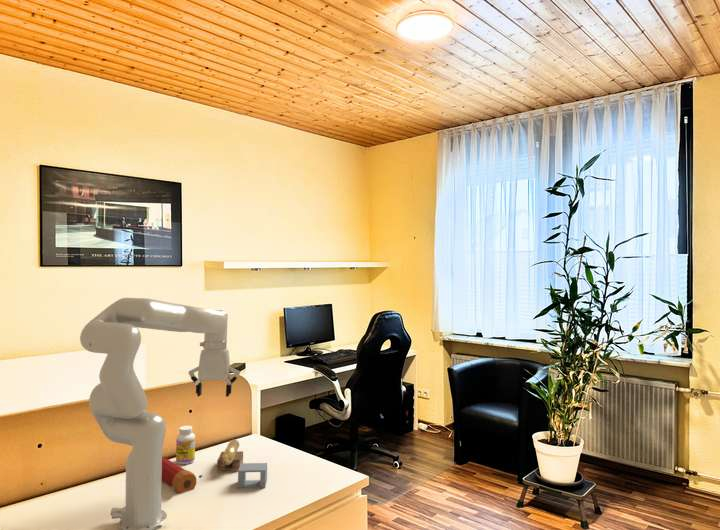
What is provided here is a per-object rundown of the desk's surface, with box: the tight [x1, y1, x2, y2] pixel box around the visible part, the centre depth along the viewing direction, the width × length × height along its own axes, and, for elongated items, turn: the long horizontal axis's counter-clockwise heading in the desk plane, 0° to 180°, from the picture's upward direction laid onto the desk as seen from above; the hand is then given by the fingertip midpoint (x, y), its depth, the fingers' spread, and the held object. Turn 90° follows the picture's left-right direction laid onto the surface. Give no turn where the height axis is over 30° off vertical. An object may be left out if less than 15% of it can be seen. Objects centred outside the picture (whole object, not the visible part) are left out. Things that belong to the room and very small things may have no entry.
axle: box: [221, 439, 240, 465], centre depth 184 cm, size 14×4×4 cm, turn 4°
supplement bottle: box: [175, 425, 196, 465], centre depth 190 cm, size 7×7×13 cm
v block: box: [216, 450, 244, 473], centre depth 184 cm, size 8×8×5 cm
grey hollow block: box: [237, 462, 268, 489], centre depth 169 cm, size 6×9×7 cm
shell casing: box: [162, 457, 197, 494], centre depth 171 cm, size 7×20×7 cm, turn 44°
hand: (213, 395), depth 175 cm, fingers open, 9 cm apart
